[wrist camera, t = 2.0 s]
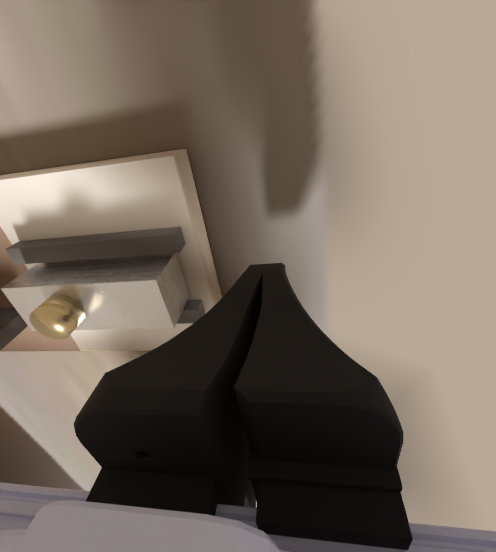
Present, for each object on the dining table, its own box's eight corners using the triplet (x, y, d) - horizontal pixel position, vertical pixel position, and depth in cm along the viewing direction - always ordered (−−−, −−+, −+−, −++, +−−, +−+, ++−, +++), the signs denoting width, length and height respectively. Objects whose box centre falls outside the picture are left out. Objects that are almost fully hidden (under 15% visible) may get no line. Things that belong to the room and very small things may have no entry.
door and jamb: (230, 330, 17) (214, 392, 13) (17, 334, 20) (-40, 386, 16) (186, 148, 12) (142, 174, 8) (-96, 188, 14) (-217, 220, 11)
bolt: (189, 296, 14) (165, 346, 11) (63, 301, 15) (14, 347, 12) (175, 252, 12) (144, 296, 10) (39, 262, 14) (-22, 303, 11)
